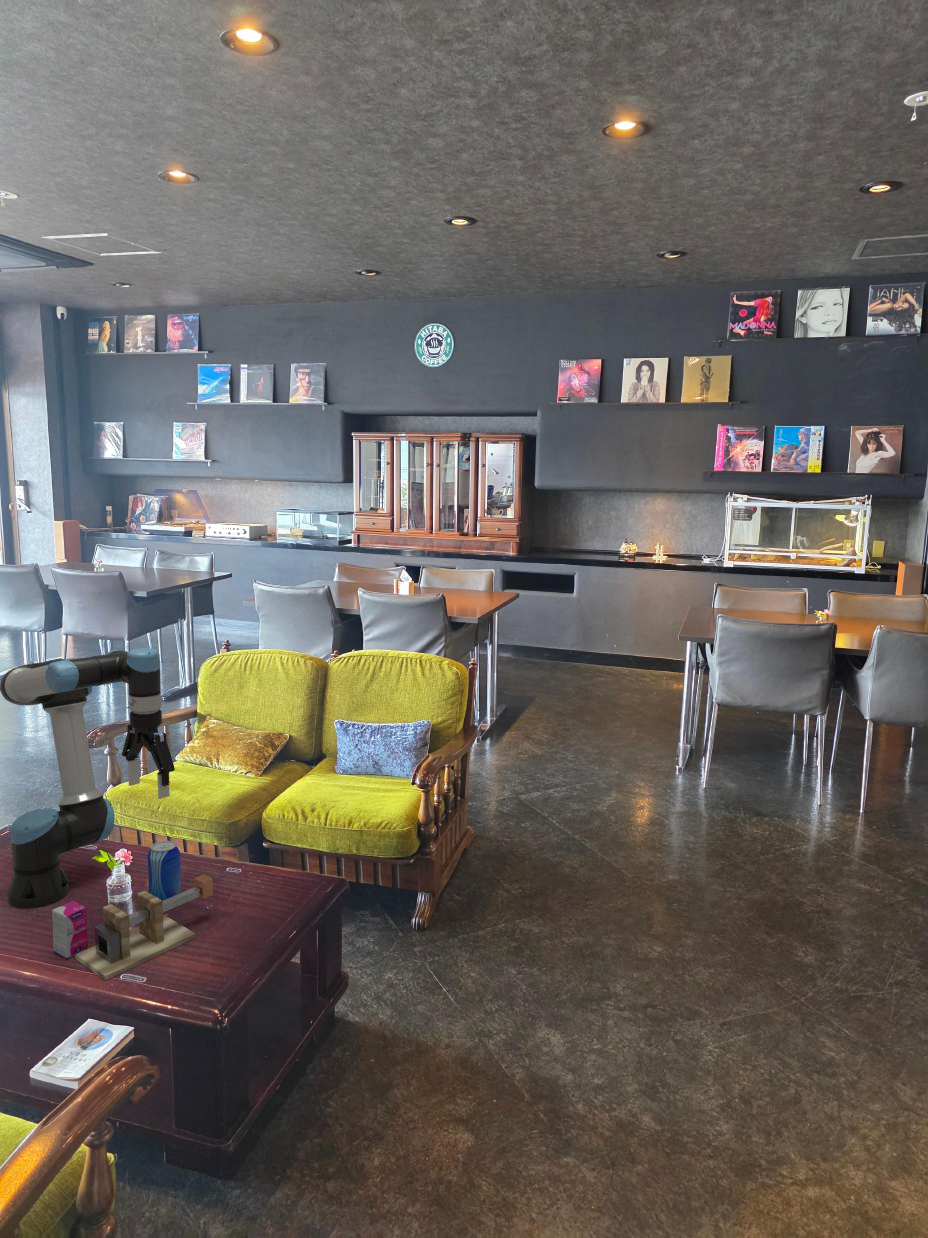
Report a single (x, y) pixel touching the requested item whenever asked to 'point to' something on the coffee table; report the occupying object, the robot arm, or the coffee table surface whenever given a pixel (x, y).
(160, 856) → the beer can
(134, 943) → the bearing stand
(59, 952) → the supplement box
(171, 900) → the shaft
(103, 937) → the spacer
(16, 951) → the coffee table surface
